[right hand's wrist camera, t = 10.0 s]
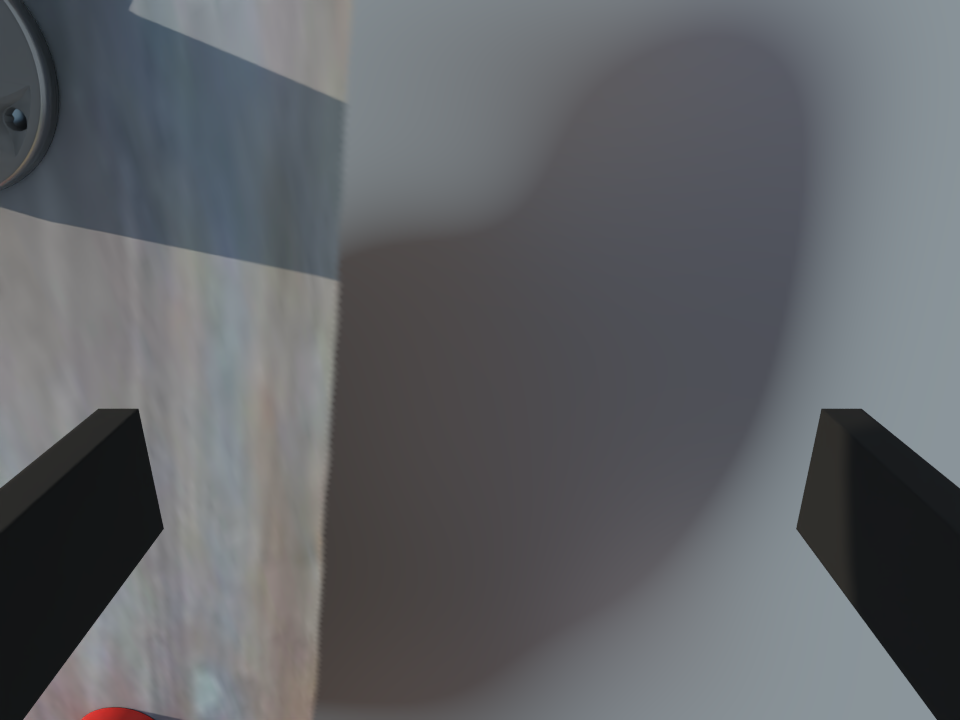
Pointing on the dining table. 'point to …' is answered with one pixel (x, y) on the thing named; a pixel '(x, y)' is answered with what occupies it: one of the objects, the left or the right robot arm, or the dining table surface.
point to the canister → (116, 714)
